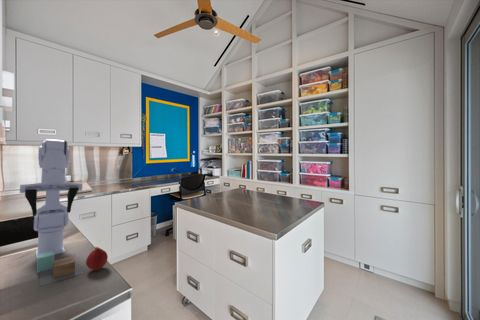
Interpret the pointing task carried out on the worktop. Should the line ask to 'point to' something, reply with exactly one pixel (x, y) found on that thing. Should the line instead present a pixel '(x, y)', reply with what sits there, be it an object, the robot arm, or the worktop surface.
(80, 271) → the mat
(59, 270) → the walnut block
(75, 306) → the worktop surface
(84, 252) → the worktop surface
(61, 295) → the worktop surface
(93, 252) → the red round piece
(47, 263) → the teal block
